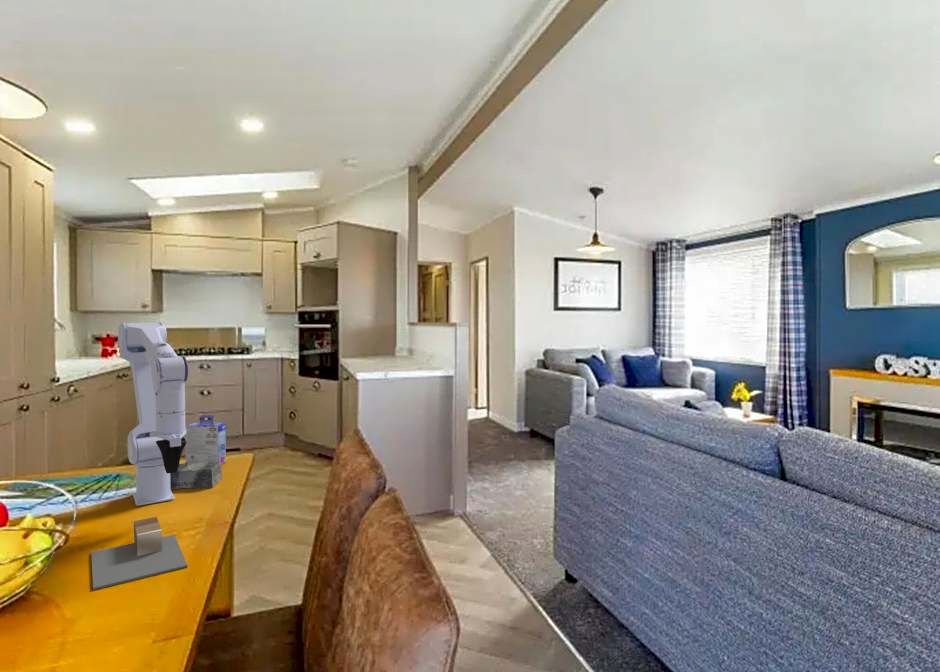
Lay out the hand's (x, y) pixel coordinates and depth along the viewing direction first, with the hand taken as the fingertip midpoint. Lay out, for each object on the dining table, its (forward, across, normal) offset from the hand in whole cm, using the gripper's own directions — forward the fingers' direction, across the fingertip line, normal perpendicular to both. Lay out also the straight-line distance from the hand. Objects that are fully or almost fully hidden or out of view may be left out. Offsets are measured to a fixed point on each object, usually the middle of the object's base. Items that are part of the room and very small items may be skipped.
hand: (171, 472), depth 119 cm
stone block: (+11, -24, +7) cm, 27 cm away
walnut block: (+8, +10, -6) cm, 14 cm away
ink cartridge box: (+11, -40, +14) cm, 44 cm away
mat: (+10, +19, -8) cm, 23 cm away
